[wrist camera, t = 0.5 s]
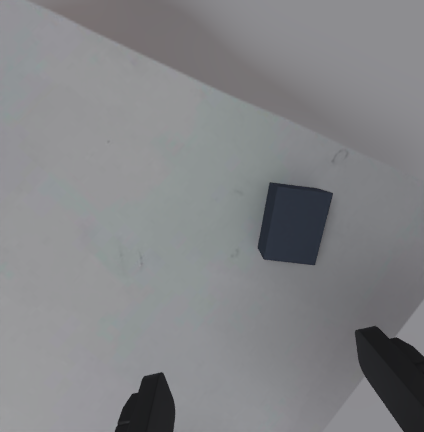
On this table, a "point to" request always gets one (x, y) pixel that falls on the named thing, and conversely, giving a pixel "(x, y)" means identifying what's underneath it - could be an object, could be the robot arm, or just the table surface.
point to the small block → (293, 223)
